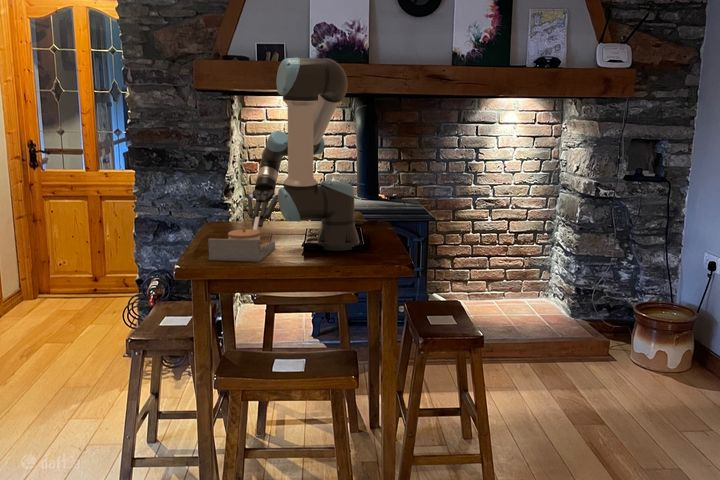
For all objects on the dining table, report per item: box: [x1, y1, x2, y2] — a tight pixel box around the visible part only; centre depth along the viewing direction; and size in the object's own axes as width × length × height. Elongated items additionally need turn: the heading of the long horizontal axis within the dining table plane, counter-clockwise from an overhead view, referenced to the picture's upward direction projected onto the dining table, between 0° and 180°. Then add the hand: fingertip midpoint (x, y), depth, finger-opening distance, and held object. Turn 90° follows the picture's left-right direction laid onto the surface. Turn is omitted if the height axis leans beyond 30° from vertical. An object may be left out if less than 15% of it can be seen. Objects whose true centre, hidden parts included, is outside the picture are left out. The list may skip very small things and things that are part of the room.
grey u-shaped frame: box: [207, 237, 276, 263], centre depth 219 cm, size 17×18×7 cm
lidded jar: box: [227, 226, 261, 241], centre depth 219 cm, size 11×11×9 cm
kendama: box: [354, 210, 368, 226], centre depth 267 cm, size 6×10×20 cm
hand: (255, 233), depth 233 cm, fingers closed
